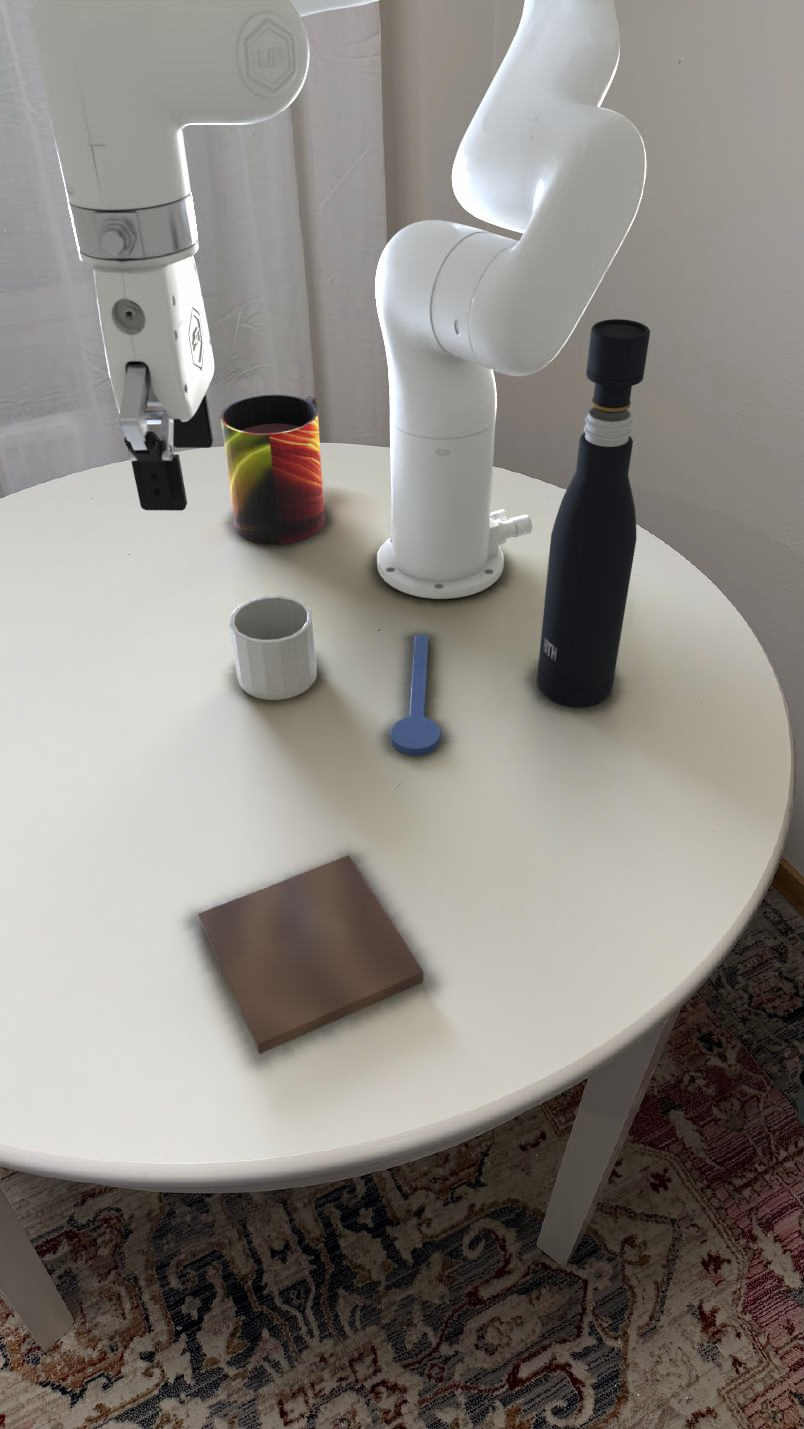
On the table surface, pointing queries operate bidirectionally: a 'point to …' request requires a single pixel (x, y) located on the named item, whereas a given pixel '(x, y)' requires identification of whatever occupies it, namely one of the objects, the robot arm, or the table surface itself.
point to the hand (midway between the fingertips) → (179, 475)
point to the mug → (274, 467)
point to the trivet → (308, 952)
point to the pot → (274, 647)
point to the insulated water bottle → (594, 530)
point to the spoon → (417, 710)
